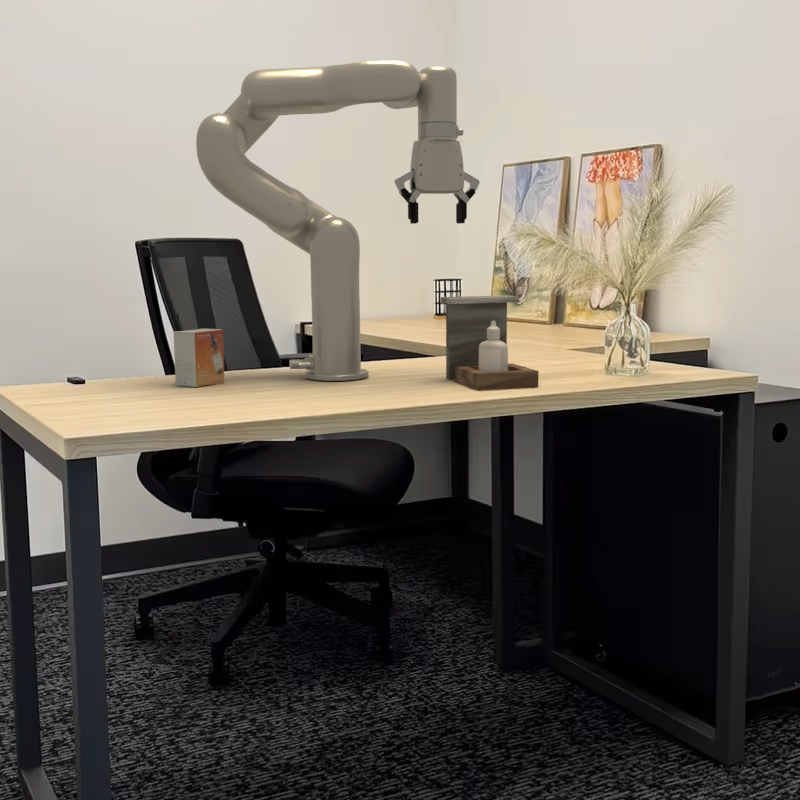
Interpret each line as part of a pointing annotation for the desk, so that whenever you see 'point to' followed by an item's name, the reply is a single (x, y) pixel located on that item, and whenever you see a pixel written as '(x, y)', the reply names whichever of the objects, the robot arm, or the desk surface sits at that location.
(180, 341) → the small box
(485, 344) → the eye dropper bottle
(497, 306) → the display stand with tray
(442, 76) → the robot arm
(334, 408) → the desk surface
